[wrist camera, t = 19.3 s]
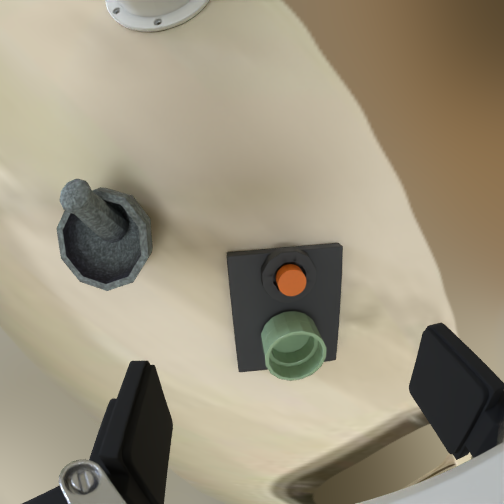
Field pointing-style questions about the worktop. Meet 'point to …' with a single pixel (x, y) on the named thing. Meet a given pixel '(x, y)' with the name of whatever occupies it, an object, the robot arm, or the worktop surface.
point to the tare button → (290, 280)
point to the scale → (275, 302)
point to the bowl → (292, 346)
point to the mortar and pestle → (103, 235)
